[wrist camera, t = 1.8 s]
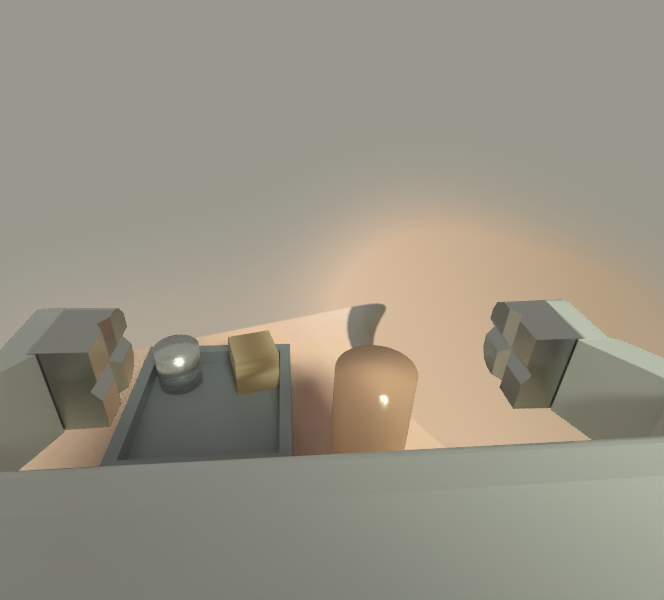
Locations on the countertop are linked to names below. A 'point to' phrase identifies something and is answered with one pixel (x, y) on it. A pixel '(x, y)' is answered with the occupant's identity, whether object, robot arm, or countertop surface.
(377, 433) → the canister
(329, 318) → the countertop surface
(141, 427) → the parts tray
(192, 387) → the part metal
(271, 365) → the part oak
